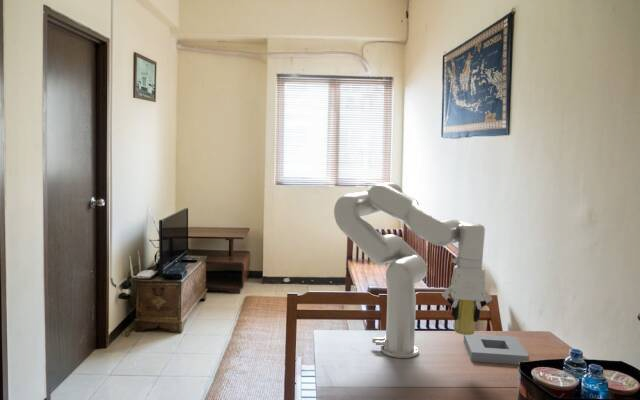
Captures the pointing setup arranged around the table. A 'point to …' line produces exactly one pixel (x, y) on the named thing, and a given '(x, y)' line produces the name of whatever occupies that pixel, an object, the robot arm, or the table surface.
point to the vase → (465, 317)
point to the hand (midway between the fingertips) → (465, 319)
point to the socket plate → (495, 349)
